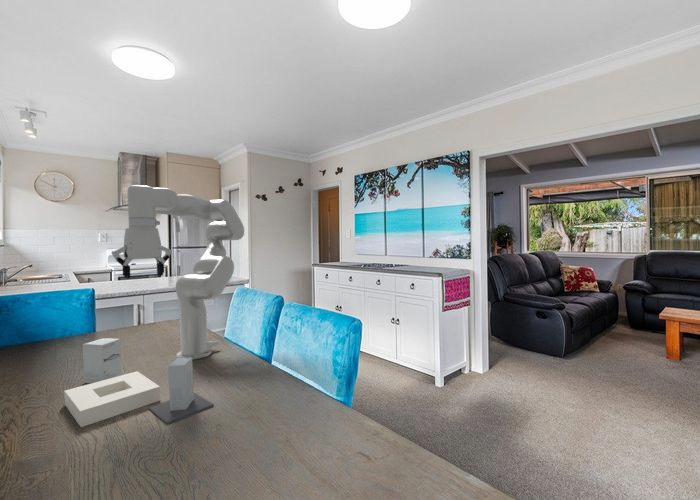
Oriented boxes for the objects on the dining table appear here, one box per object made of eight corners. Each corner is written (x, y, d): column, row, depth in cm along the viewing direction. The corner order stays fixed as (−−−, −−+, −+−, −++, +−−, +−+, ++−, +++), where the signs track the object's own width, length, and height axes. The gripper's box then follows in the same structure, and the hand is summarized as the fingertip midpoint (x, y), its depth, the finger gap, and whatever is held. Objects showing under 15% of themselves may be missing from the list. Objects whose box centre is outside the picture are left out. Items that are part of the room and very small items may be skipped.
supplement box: (102, 384, 109) (101, 345, 109) (83, 383, 111) (81, 344, 111) (122, 375, 117) (120, 338, 116) (103, 374, 118) (102, 337, 118)
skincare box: (178, 400, 97) (176, 357, 96) (194, 399, 97) (192, 357, 97) (169, 411, 91) (167, 365, 90) (186, 410, 91) (184, 365, 91)
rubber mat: (193, 393, 102) (193, 391, 102) (213, 406, 94) (213, 404, 94) (148, 409, 93) (148, 407, 93) (166, 424, 85) (166, 422, 85)
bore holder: (137, 383, 110) (137, 371, 110) (160, 400, 98) (159, 386, 98) (65, 404, 96) (64, 390, 96) (80, 427, 84) (80, 411, 84)
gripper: (165, 225, 122) (167, 273, 123) (107, 224, 109) (109, 278, 110) (174, 224, 117) (176, 275, 118) (114, 223, 104) (117, 280, 105)
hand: (144, 276), depth 114 cm, fingers open, 9 cm apart
